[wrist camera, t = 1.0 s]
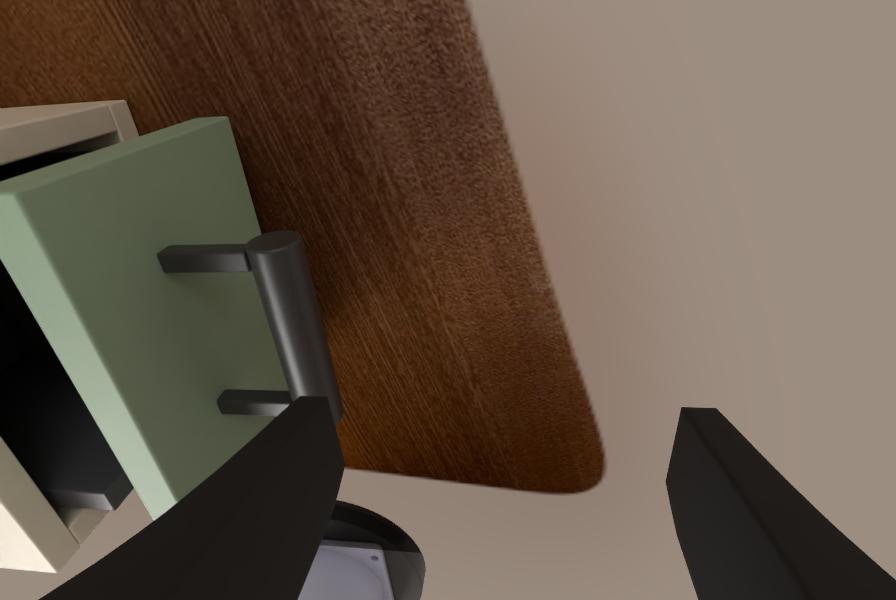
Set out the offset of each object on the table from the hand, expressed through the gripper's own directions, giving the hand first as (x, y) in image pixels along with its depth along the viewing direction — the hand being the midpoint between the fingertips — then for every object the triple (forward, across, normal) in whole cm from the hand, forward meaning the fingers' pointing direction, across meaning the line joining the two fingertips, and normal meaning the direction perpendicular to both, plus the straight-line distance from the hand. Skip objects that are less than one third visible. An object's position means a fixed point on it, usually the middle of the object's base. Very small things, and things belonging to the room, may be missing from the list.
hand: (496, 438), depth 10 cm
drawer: (+8, +13, 0) cm, 16 cm away
